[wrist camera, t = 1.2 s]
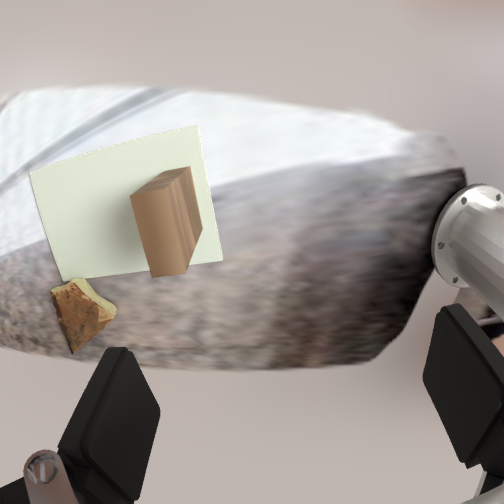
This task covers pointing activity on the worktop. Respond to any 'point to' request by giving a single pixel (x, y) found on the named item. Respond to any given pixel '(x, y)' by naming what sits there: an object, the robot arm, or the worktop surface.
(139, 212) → the walnut slab
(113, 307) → the shard
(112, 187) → the sage mat
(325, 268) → the worktop surface
